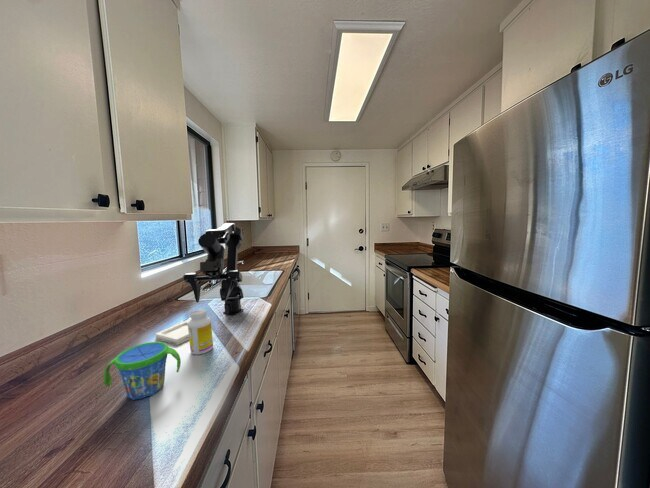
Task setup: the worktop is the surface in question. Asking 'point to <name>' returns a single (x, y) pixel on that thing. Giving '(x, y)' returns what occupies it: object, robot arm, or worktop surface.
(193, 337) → the supplement bottle
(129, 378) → the snack cup
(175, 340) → the tray
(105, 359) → the worktop surface
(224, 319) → the worktop surface
